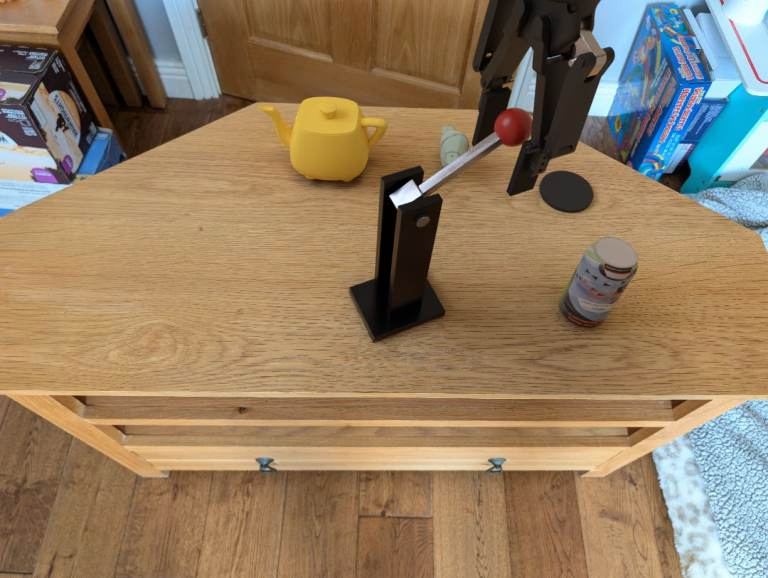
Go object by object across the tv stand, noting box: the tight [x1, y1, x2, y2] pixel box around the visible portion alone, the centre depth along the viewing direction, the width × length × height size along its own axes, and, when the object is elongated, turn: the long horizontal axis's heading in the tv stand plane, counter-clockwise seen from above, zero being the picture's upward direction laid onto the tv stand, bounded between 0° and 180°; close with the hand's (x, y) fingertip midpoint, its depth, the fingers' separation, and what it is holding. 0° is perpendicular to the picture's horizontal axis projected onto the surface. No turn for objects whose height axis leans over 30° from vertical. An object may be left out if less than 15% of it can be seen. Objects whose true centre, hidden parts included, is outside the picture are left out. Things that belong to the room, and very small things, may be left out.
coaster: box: [538, 170, 594, 214], centre depth 84 cm, size 8×8×1 cm
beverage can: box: [558, 235, 639, 329], centre depth 68 cm, size 6×7×12 cm
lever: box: [390, 107, 533, 209], centre depth 54 cm, size 15×4×4 cm, turn 114°
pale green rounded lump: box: [439, 125, 470, 168], centre depth 83 cm, size 8×4×7 cm, turn 3°
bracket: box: [348, 164, 447, 343], centre depth 63 cm, size 10×8×22 cm
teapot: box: [257, 96, 389, 182], centre depth 81 cm, size 18×11×11 cm, turn 88°
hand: (501, 165), depth 57 cm, fingers open, 6 cm apart
